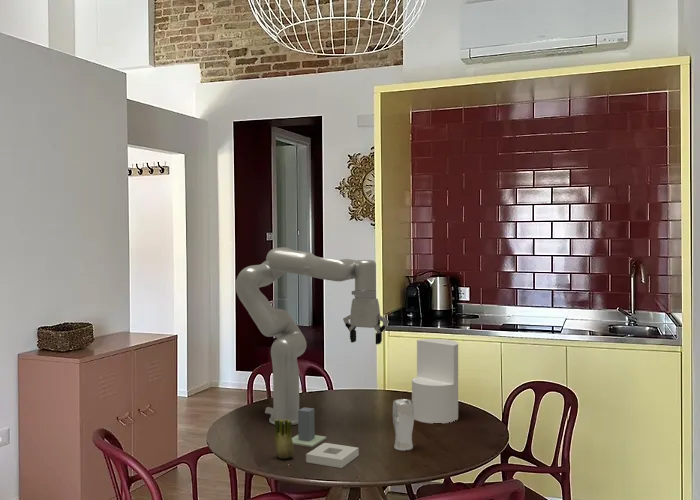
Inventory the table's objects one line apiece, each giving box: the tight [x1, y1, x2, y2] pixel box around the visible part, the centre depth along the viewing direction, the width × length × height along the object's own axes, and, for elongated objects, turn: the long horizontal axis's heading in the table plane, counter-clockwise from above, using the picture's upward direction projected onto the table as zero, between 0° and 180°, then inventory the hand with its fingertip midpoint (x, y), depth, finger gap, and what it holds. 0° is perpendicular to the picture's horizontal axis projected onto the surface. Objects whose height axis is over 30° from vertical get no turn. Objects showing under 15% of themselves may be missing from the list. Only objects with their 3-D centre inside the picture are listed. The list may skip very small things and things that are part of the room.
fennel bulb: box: [274, 419, 294, 460], centre depth 208 cm, size 6×5×12 cm
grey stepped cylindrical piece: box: [411, 338, 459, 424], centre depth 252 cm, size 17×17×28 cm
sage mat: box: [292, 434, 328, 448], centre depth 224 cm, size 10×10×1 cm
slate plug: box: [297, 406, 316, 441], centre depth 224 cm, size 4×4×10 cm
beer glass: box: [392, 398, 415, 452], centre depth 217 cm, size 7×7×15 cm
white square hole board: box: [305, 442, 360, 469], centre depth 207 cm, size 12×12×2 cm
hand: (365, 342), depth 238 cm, fingers open, 9 cm apart
